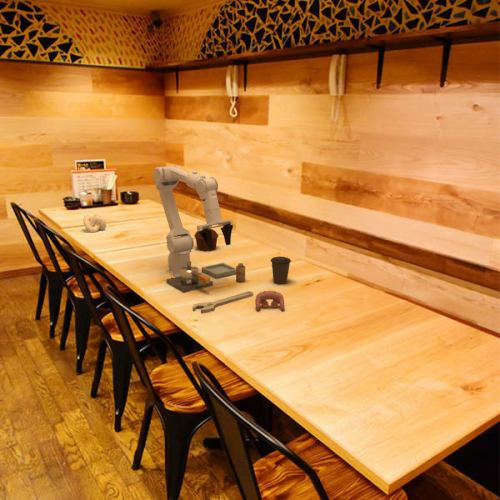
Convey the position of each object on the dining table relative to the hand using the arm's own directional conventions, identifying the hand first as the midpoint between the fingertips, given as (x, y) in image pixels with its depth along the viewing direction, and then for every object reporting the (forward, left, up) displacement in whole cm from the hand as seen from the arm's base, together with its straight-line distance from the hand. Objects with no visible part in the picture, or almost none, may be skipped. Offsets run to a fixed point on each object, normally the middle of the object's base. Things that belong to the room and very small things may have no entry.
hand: (220, 247), depth 173 cm
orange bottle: (-3, +12, -17) cm, 21 cm away
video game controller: (+24, +4, -17) cm, 30 cm away
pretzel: (-116, -4, -17) cm, 117 cm away
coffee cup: (+7, +24, -17) cm, 30 cm away
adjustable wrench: (+12, -6, -17) cm, 22 cm away
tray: (-16, +11, -17) cm, 25 cm away
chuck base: (-12, -6, -17) cm, 21 cm away
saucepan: (-7, -6, -15) cm, 18 cm away
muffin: (-49, +26, -17) cm, 58 cm away
